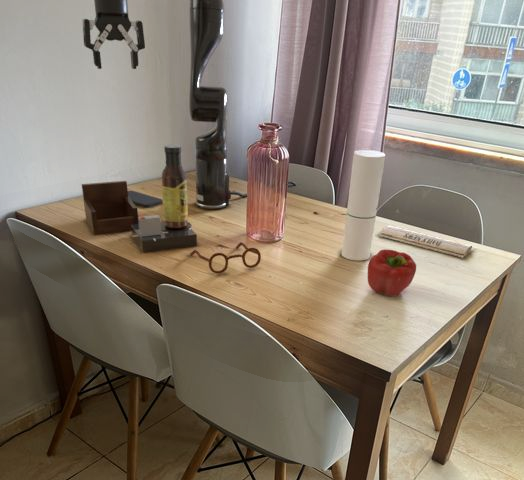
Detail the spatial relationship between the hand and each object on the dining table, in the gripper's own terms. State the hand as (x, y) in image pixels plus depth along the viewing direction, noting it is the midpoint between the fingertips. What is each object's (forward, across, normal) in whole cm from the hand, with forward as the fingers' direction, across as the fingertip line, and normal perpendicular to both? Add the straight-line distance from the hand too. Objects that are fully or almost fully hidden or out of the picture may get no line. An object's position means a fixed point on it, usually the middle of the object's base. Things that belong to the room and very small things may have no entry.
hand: (117, 68), depth 136 cm
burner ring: (+35, +8, -18) cm, 40 cm away
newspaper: (+38, +70, -44) cm, 91 cm away
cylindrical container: (+38, +47, -45) cm, 76 cm away
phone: (+38, +6, +15) cm, 41 cm away
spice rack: (+38, -6, -4) cm, 39 cm away
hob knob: (+35, 0, -23) cm, 42 cm away
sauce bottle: (+35, +8, -18) cm, 40 cm away
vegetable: (+38, +42, -66) cm, 87 cm away
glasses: (+38, +14, -38) cm, 56 cm away
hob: (+38, +4, -20) cm, 43 cm away
